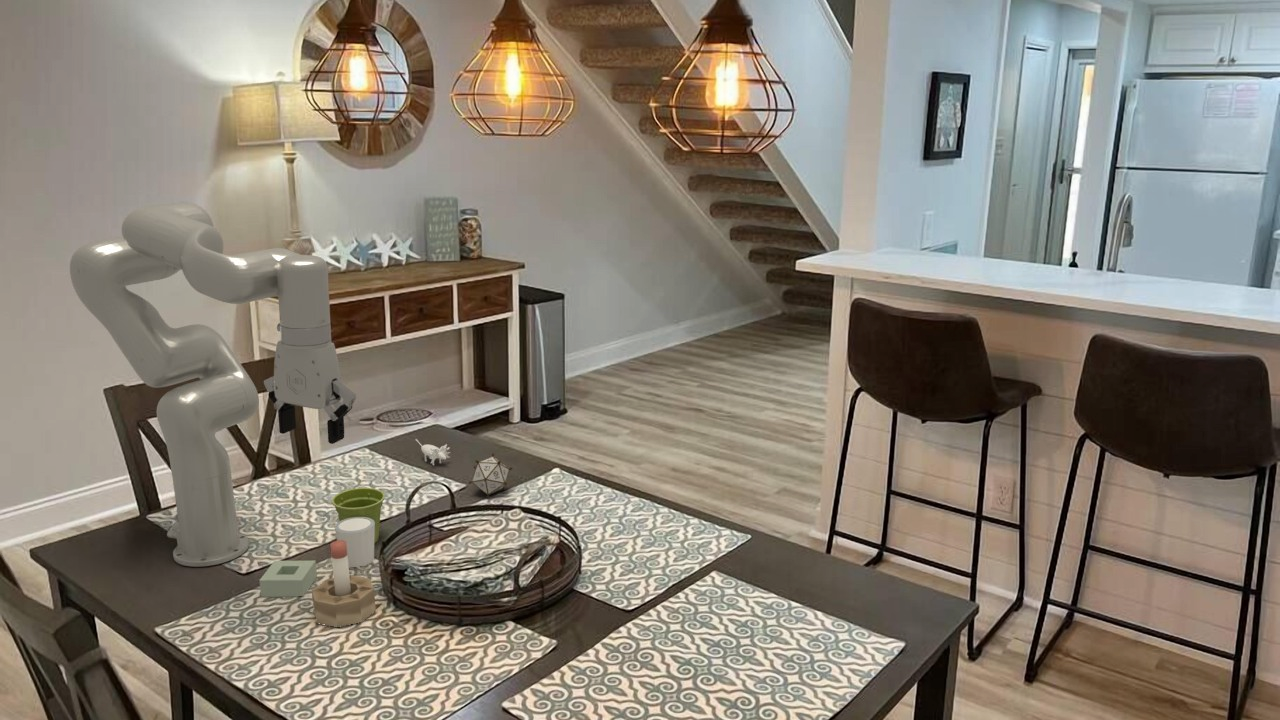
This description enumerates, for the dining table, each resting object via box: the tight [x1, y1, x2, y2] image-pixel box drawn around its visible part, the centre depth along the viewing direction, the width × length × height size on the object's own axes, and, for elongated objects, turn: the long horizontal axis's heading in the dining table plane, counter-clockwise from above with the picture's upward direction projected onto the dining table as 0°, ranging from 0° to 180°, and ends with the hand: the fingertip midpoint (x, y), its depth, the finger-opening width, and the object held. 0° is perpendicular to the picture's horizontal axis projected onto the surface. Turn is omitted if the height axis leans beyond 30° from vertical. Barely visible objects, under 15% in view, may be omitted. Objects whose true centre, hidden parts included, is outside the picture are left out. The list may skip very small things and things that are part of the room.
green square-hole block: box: [258, 560, 318, 598], centre depth 162 cm, size 7×7×3 cm
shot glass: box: [333, 517, 375, 568], centre depth 171 cm, size 7×7×7 cm
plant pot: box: [331, 487, 386, 544], centre depth 178 cm, size 9×9×9 cm
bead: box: [311, 574, 377, 628], centre depth 153 cm, size 9×9×4 cm
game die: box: [467, 452, 514, 499], centre depth 200 cm, size 9×8×10 cm
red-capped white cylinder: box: [329, 540, 351, 597], centre depth 152 cm, size 2×2×12 cm
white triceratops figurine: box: [415, 438, 451, 466], centre depth 218 cm, size 12×5×5 cm, turn 43°
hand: (311, 436), depth 157 cm, fingers open, 9 cm apart
